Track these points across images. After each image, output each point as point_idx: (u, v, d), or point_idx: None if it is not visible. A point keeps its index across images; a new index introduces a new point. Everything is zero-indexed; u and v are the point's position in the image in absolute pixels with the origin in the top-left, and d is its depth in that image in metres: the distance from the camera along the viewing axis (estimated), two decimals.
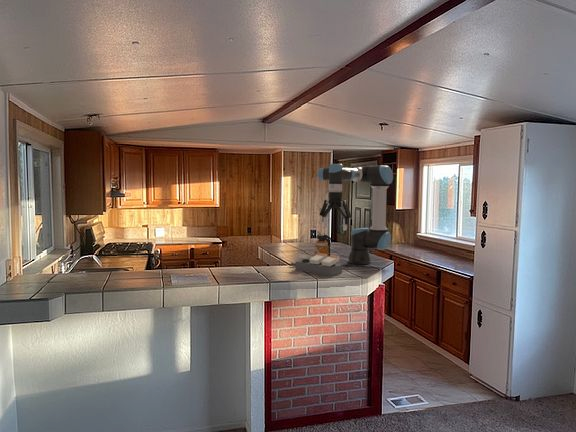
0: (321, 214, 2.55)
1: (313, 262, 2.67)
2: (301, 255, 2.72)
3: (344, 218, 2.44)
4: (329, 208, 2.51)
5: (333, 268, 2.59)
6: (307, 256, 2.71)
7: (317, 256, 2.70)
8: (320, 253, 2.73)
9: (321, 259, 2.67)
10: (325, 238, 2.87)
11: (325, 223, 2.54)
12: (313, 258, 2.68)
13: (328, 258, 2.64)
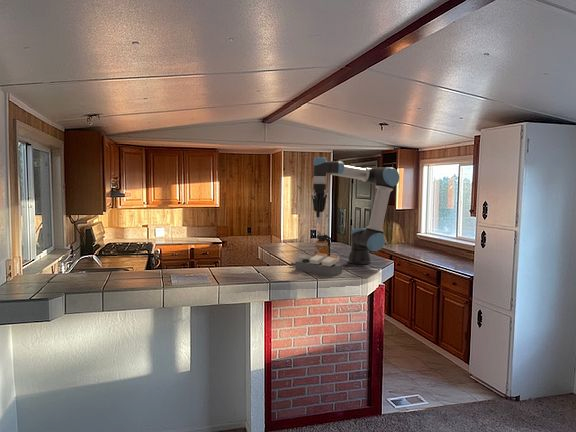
0: None
1: (313, 262, 2.67)
2: (301, 255, 2.72)
3: None
4: None
5: (333, 268, 2.59)
6: (307, 256, 2.71)
7: (317, 256, 2.70)
8: (320, 253, 2.73)
9: (321, 259, 2.67)
10: (325, 238, 2.87)
11: None
12: (313, 258, 2.68)
13: (328, 258, 2.64)
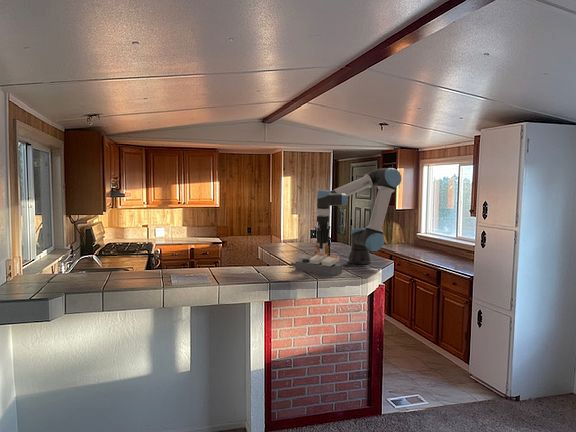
0: None
1: (313, 262, 2.67)
2: (301, 255, 2.72)
3: None
4: None
5: (333, 268, 2.59)
6: (307, 256, 2.71)
7: (317, 256, 2.70)
8: None
9: (321, 259, 2.67)
10: None
11: None
12: (313, 258, 2.68)
13: (328, 258, 2.64)
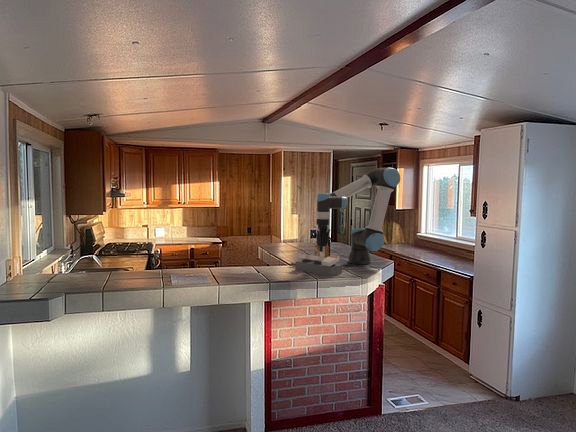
0: None
1: (313, 258, 2.66)
2: (301, 255, 2.72)
3: None
4: None
5: (333, 268, 2.59)
6: (307, 256, 2.71)
7: None
8: None
9: (321, 258, 2.67)
10: None
11: None
12: None
13: (328, 258, 2.64)
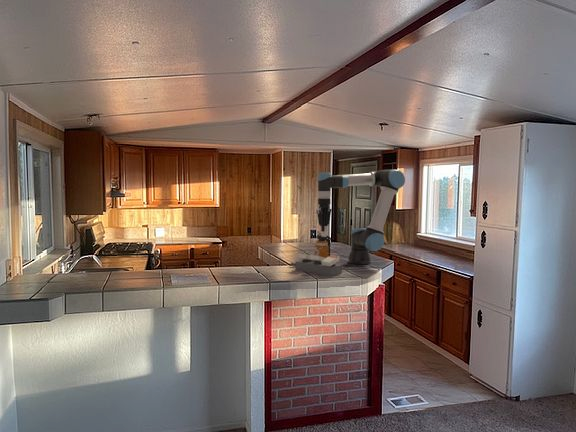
0: None
1: (313, 258, 2.66)
2: (301, 255, 2.72)
3: None
4: None
5: (333, 268, 2.59)
6: (307, 256, 2.71)
7: None
8: None
9: (321, 258, 2.67)
10: (325, 238, 2.87)
11: None
12: None
13: (328, 258, 2.64)
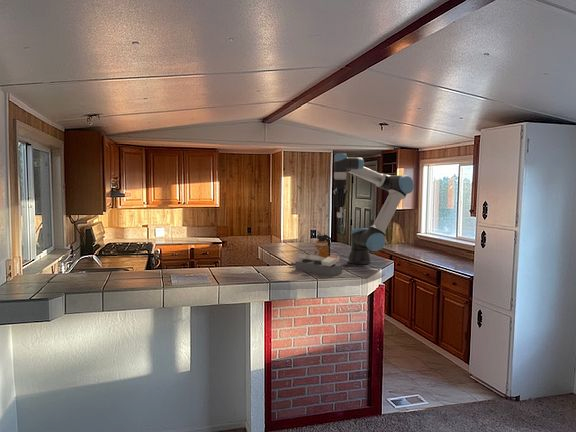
0: None
1: (313, 258, 2.66)
2: (301, 255, 2.72)
3: None
4: None
5: (333, 268, 2.59)
6: (307, 256, 2.71)
7: None
8: None
9: (321, 258, 2.67)
10: (325, 238, 2.87)
11: None
12: None
13: (328, 258, 2.64)
